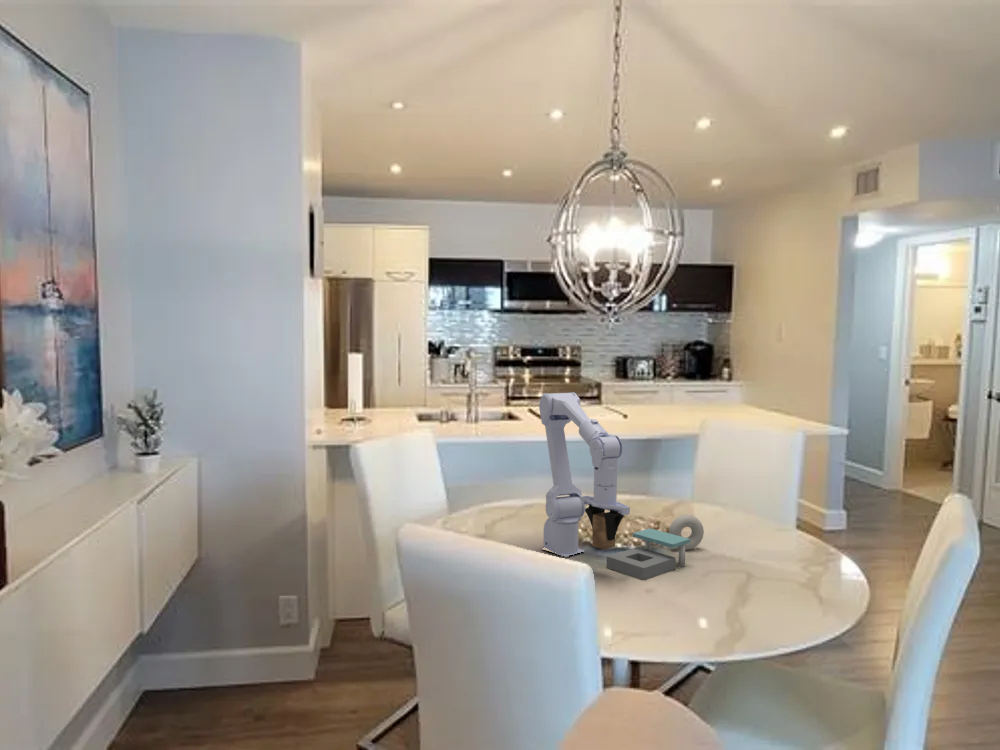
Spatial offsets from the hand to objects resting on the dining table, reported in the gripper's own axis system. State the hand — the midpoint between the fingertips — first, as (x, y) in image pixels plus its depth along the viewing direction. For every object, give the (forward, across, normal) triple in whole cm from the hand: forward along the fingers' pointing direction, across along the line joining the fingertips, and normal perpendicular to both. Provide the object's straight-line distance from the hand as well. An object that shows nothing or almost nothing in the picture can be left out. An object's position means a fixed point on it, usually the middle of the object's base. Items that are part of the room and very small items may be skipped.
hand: (604, 537), depth 187 cm
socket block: (+9, +3, +10) cm, 14 cm away
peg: (+2, 0, 0) cm, 2 cm away
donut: (+10, +1, +33) cm, 35 cm away
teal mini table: (+9, +3, +19) cm, 22 cm away
